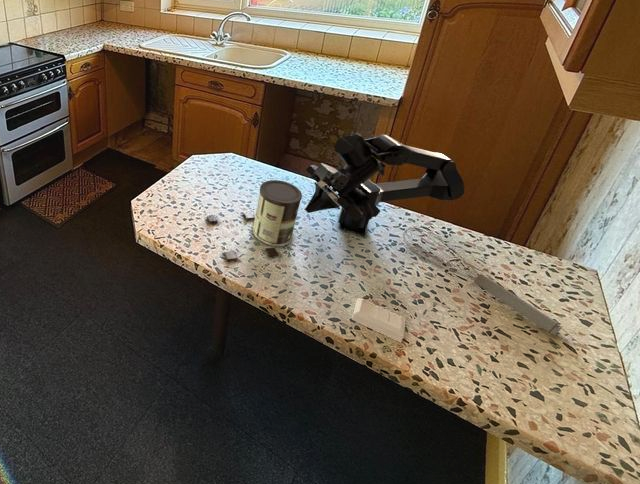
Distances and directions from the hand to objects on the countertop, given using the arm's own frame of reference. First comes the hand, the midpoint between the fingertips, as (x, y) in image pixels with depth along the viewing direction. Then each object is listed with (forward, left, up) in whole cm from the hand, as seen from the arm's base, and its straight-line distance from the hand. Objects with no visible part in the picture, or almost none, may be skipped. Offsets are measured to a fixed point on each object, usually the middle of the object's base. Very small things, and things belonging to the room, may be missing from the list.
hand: (306, 211), depth 107 cm
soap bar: (-18, +23, -7) cm, 30 cm away
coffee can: (+7, +5, -7) cm, 11 cm away
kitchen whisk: (-38, +1, -7) cm, 39 cm away
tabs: (+15, +10, -7) cm, 19 cm away
